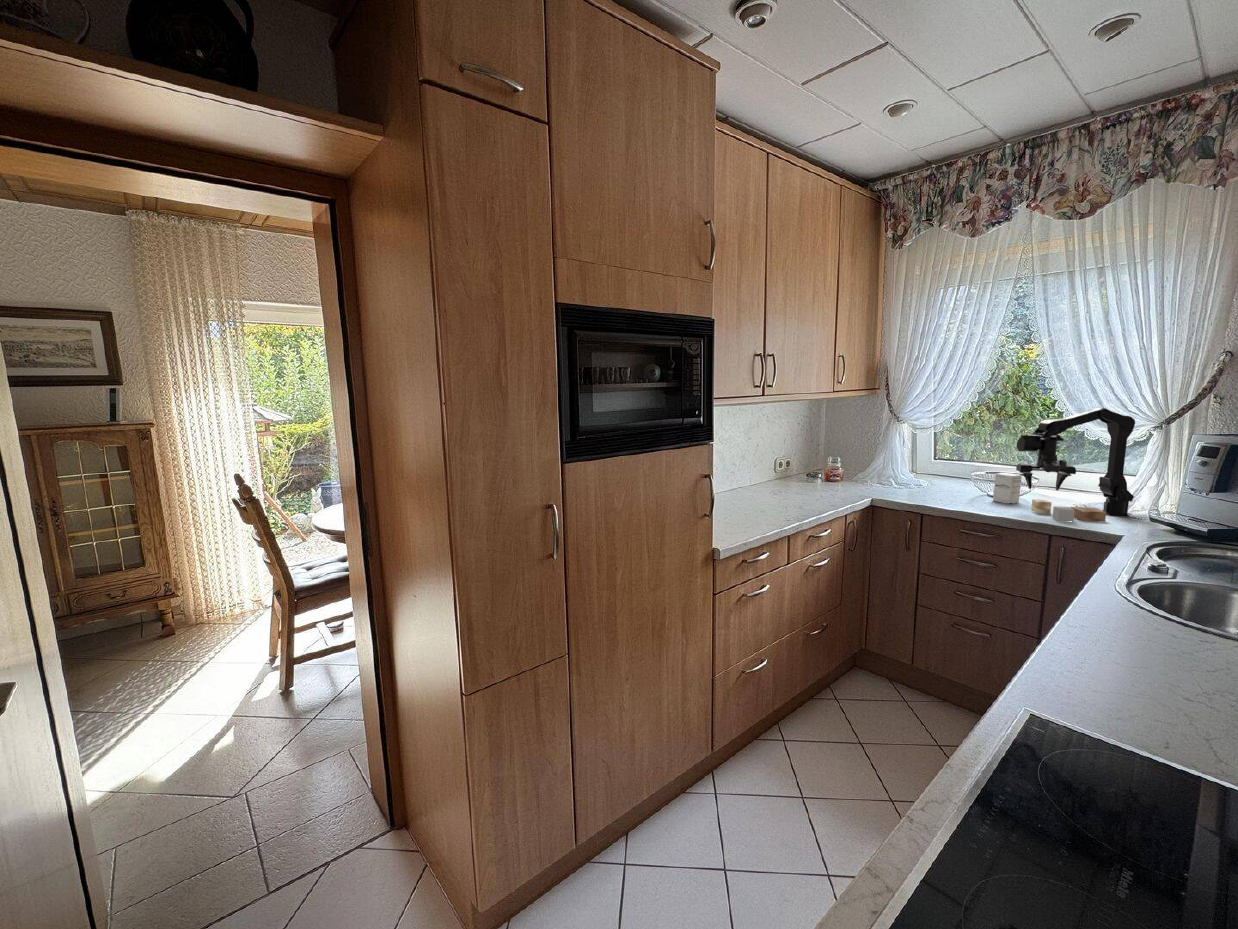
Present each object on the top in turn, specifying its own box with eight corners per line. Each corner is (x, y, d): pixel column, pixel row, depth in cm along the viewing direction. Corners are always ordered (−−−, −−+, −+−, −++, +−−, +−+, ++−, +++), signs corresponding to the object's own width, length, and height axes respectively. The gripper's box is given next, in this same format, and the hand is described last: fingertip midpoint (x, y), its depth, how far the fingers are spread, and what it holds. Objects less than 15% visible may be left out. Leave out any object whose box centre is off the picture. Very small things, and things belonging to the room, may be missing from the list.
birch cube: (1045, 511, 230) (1046, 499, 230) (1050, 514, 226) (1051, 502, 225) (1031, 510, 232) (1032, 499, 231) (1035, 513, 227) (1036, 501, 227)
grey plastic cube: (1067, 519, 217) (1069, 507, 217) (1073, 522, 213) (1074, 509, 212) (1052, 518, 219) (1053, 506, 218) (1057, 521, 214) (1058, 509, 214)
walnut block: (1093, 517, 221) (1094, 507, 220) (1104, 522, 213) (1106, 512, 213) (1069, 516, 223) (1070, 506, 222) (1080, 521, 215) (1081, 511, 215)
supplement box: (992, 501, 251) (994, 473, 249) (1002, 499, 254) (1004, 472, 252) (1009, 504, 244) (1012, 475, 242) (1019, 502, 247) (1022, 474, 245)
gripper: (1027, 453, 221) (1023, 492, 223) (1084, 455, 215) (1079, 494, 217) (1017, 450, 231) (1013, 487, 233) (1071, 451, 225) (1067, 489, 227)
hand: (1043, 489), depth 228 cm, fingers open, 9 cm apart
